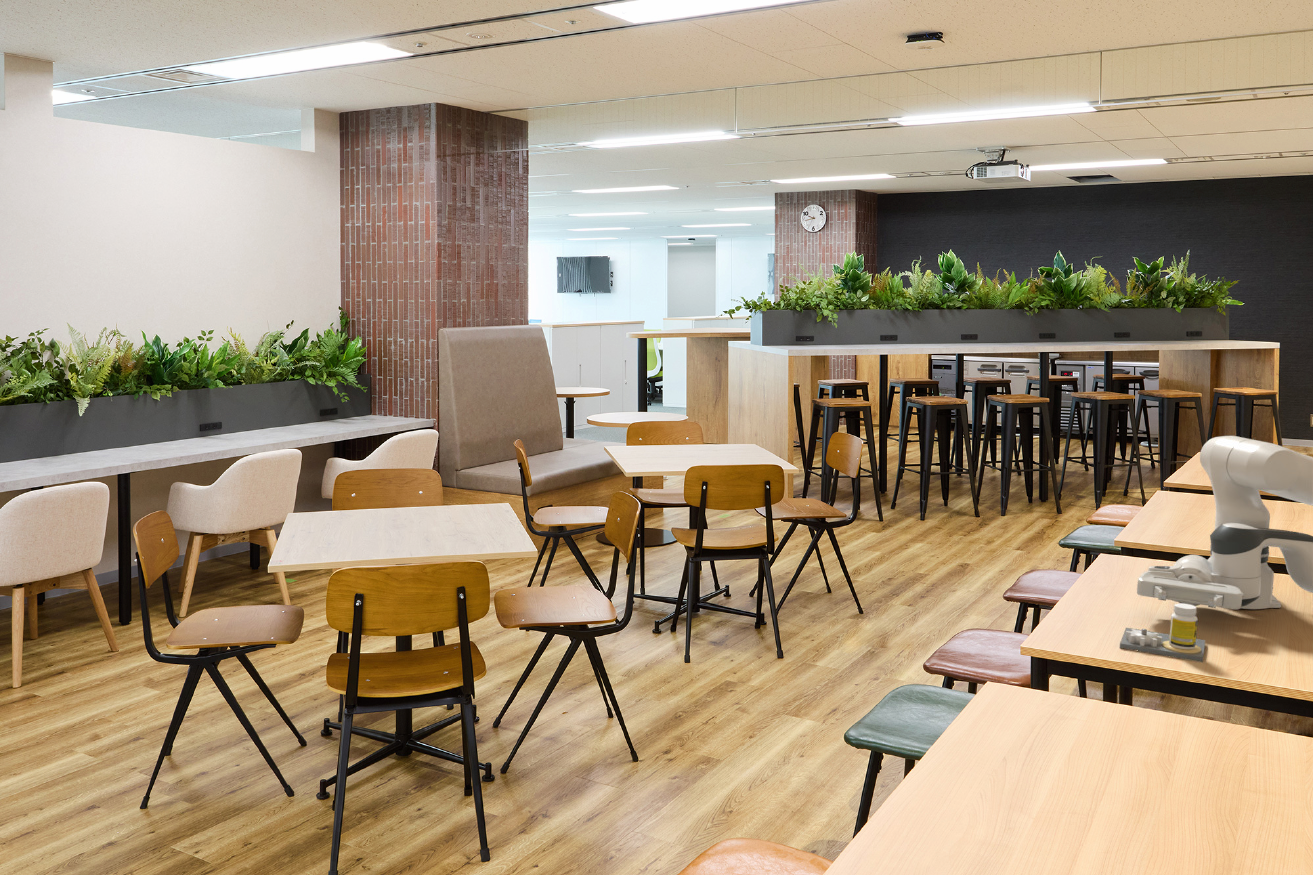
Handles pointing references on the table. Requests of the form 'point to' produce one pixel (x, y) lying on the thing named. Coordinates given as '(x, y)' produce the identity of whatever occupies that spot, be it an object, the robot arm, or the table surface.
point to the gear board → (1159, 644)
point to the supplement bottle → (1183, 627)
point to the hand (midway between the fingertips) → (1186, 600)
